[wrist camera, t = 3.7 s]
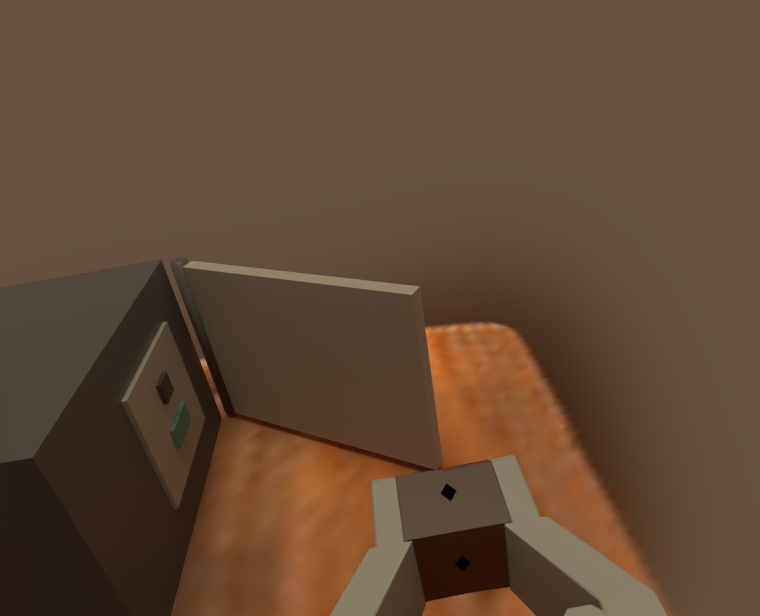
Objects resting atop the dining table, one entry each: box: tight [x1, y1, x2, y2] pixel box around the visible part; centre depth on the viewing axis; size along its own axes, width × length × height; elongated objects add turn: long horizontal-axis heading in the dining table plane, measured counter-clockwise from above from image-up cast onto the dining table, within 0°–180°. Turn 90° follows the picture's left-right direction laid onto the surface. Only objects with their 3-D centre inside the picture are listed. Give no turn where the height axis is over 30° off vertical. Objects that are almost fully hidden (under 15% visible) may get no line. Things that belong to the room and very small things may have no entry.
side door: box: [170, 258, 443, 470], centre depth 32 cm, size 16×1×11 cm, turn 61°
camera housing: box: [0, 260, 221, 616], centre depth 29 cm, size 18×10×12 cm, turn 4°
